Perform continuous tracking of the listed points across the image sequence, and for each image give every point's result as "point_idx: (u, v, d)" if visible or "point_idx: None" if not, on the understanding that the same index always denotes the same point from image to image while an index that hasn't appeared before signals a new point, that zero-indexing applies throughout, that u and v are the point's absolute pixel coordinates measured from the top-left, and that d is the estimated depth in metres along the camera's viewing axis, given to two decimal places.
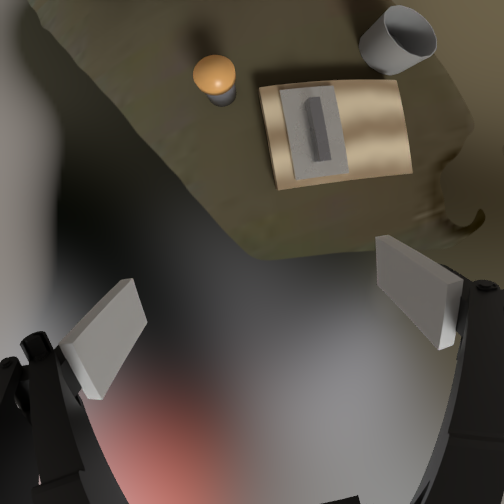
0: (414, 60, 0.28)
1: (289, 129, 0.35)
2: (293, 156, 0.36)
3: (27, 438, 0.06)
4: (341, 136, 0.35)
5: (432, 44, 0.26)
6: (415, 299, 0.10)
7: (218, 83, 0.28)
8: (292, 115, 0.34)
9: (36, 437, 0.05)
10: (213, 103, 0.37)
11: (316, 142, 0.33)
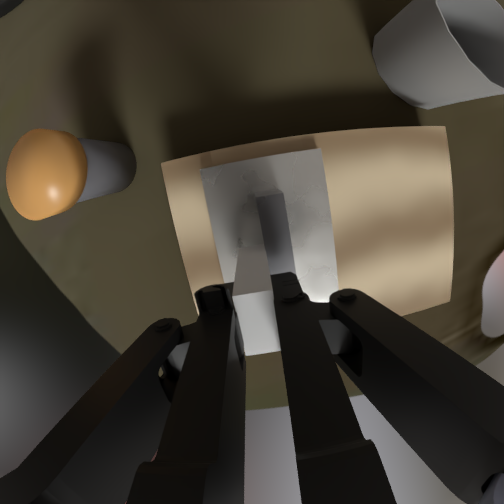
0: (490, 94, 0.11)
1: (222, 256, 0.18)
2: None
3: (157, 417, 0.07)
4: (331, 262, 0.18)
5: None
6: None
7: (42, 201, 0.11)
8: (227, 226, 0.18)
9: (175, 401, 0.06)
10: None
11: None
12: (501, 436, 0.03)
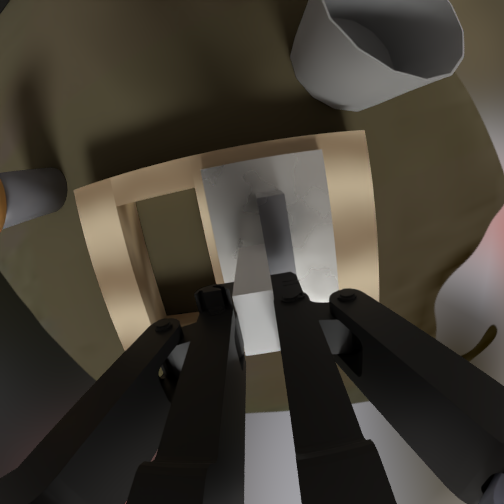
0: (407, 86, 0.12)
1: (223, 256, 0.18)
2: None
3: (157, 417, 0.07)
4: (332, 263, 0.18)
5: (453, 43, 0.10)
6: None
7: None
8: (228, 226, 0.18)
9: (175, 401, 0.06)
10: None
11: None
12: (501, 436, 0.03)
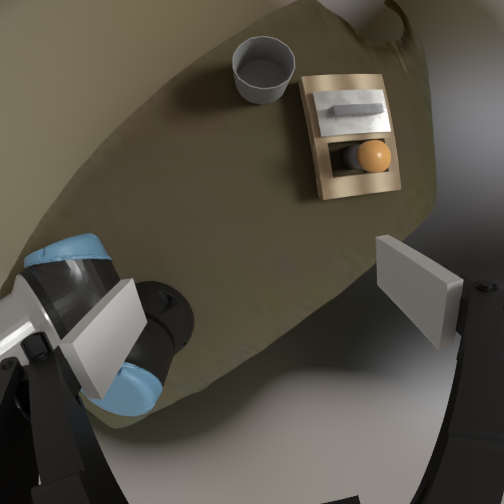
0: (292, 62, 0.34)
1: (354, 131, 0.41)
2: (374, 131, 0.41)
3: (27, 438, 0.06)
4: (355, 91, 0.39)
5: (268, 40, 0.33)
6: (415, 299, 0.10)
7: (385, 153, 0.36)
8: (342, 128, 0.41)
9: (35, 437, 0.05)
10: None
11: (369, 112, 0.38)
12: None
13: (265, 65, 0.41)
